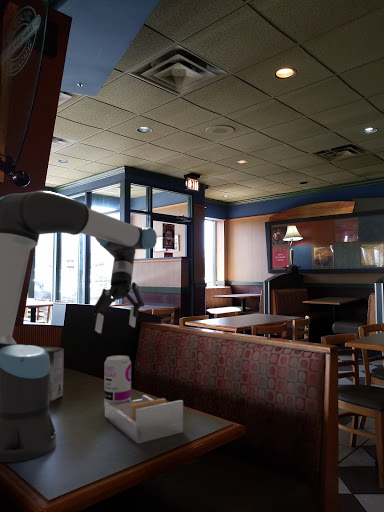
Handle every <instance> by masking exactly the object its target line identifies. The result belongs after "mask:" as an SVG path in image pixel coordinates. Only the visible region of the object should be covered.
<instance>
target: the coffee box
mask: <svg viewBox="0 0 384 512" xmlns="http://www.w3.org/2000/svg"><path fill="white" fill-rule="evenodd" d="M40 347H41V348H43V349H45V350H46V351H47V352H48V354H49V359H50V366H51V368H50V369H51V370H50V393H49V402H50V401H54V400H55V401H56V399H58V398H60V397H62V396H64V394H63V392H64V391H63V390H64V362H65V361H64V357H65V355H64V353H65V348H63V347H53V346H44V345H43V346H40Z"/></svg>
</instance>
